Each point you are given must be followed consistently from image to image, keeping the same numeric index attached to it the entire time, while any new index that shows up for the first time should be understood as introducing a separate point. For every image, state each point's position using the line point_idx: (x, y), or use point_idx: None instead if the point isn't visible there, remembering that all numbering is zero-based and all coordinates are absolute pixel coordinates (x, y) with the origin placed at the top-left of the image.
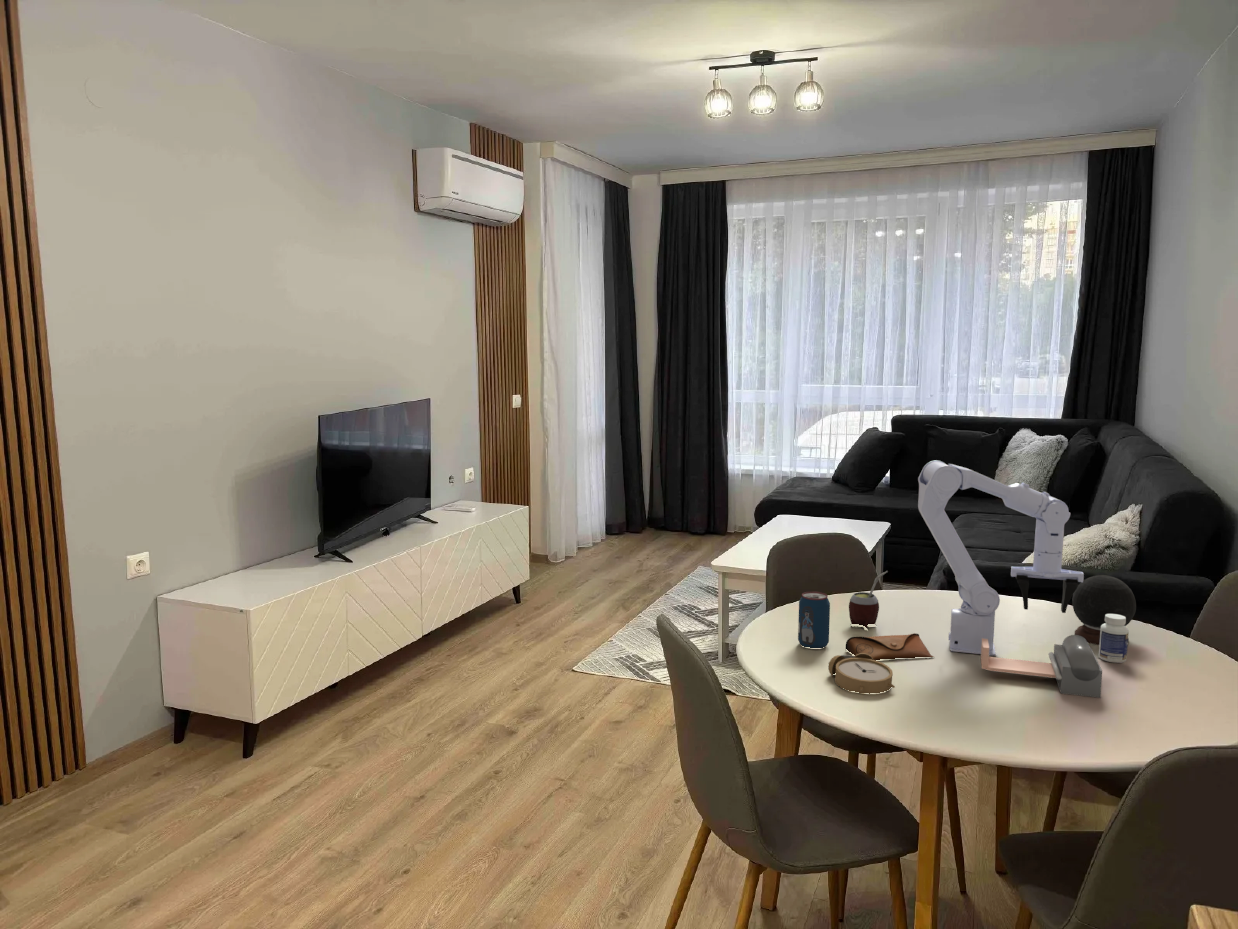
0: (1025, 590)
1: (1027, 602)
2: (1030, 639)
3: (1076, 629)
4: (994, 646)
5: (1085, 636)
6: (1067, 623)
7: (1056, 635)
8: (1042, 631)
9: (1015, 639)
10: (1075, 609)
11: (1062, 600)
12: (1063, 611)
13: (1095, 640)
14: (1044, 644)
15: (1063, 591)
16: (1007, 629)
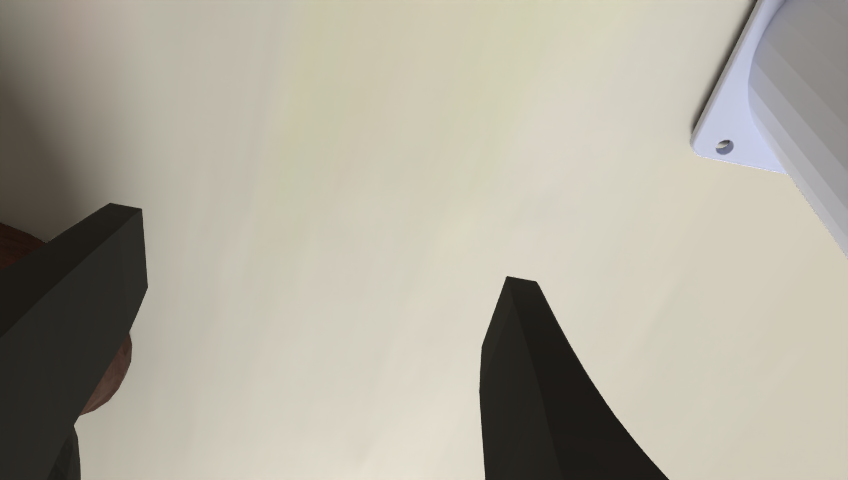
0: (598, 458)
1: (527, 327)
2: (389, 272)
3: (113, 394)
4: (722, 82)
5: None
6: (152, 474)
7: (227, 339)
8: (290, 383)
9: (482, 265)
10: (59, 459)
11: (89, 364)
12: (121, 212)
13: (12, 251)
14: (326, 200)
15: (22, 467)
16: (469, 396)
